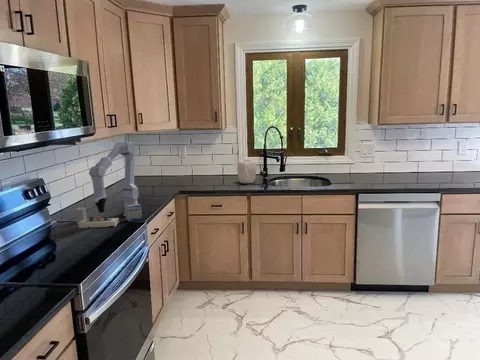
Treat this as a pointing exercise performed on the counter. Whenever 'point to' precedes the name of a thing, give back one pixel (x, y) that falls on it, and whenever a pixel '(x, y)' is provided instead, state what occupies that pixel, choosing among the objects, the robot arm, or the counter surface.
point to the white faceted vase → (246, 171)
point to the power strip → (98, 223)
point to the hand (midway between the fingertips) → (101, 212)
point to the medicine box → (133, 212)
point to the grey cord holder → (80, 214)
